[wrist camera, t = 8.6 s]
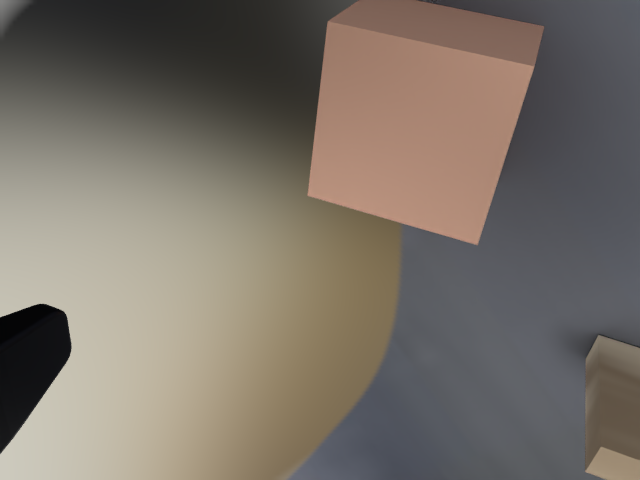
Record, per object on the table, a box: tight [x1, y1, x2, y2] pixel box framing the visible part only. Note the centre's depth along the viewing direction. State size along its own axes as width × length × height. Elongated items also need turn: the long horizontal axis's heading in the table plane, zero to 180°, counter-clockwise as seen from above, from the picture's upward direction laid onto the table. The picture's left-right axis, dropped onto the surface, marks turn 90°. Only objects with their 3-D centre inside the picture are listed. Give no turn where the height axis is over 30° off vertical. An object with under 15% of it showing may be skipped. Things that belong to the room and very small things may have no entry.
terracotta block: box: [308, 0, 544, 245], centre depth 17 cm, size 5×5×4 cm
